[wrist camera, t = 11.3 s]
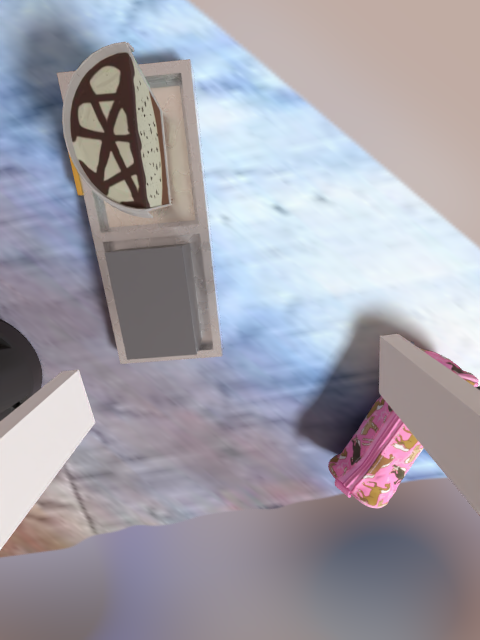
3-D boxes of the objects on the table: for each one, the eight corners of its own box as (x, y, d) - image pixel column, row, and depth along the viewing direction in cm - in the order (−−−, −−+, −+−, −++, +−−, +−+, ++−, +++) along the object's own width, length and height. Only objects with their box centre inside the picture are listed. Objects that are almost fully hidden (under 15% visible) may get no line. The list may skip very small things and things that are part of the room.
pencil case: (393, 330, 40) (434, 359, 31) (451, 356, 41) (506, 391, 33) (316, 452, 46) (334, 504, 37) (369, 472, 47) (398, 527, 38)
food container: (100, 94, 31) (37, 35, 21) (160, 92, 31) (124, 32, 21) (118, 221, 34) (72, 220, 25) (172, 219, 34) (146, 217, 25)
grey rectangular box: (140, 343, 39) (127, 359, 34) (122, 249, 36) (104, 252, 31) (202, 338, 39) (196, 354, 34) (189, 243, 35) (182, 246, 31)
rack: (124, 356, 41) (116, 364, 38) (65, 84, 32) (50, 72, 29) (223, 348, 40) (222, 356, 38) (193, 71, 31) (189, 58, 29)
